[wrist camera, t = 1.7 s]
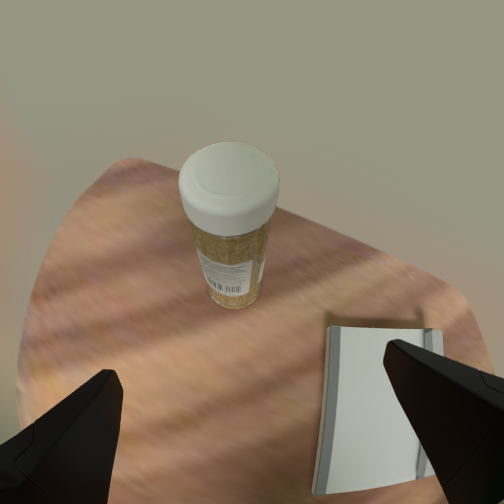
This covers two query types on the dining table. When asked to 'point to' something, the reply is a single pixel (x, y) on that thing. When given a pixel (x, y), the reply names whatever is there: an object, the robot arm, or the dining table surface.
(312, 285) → the dining table surface
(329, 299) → the dining table surface
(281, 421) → the dining table surface
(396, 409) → the base
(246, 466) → the dining table surface
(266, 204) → the sprinkles bottle
